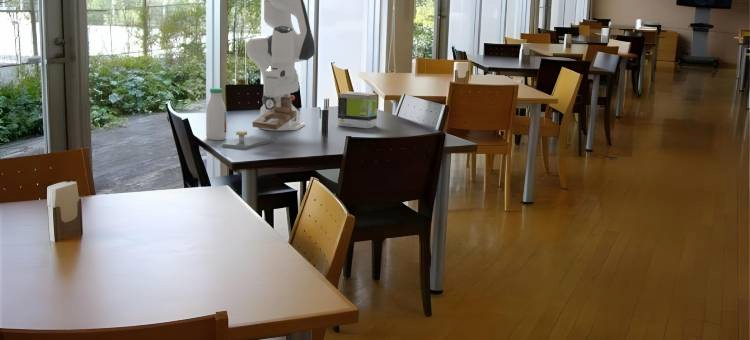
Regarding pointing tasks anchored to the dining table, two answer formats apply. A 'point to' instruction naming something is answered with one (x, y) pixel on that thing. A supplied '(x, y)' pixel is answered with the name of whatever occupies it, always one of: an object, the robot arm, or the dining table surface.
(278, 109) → the wooden stepped block
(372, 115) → the tea box
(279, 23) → the robot arm
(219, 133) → the milk bottle
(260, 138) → the boss board
